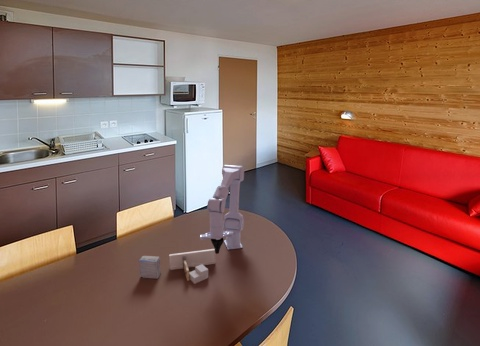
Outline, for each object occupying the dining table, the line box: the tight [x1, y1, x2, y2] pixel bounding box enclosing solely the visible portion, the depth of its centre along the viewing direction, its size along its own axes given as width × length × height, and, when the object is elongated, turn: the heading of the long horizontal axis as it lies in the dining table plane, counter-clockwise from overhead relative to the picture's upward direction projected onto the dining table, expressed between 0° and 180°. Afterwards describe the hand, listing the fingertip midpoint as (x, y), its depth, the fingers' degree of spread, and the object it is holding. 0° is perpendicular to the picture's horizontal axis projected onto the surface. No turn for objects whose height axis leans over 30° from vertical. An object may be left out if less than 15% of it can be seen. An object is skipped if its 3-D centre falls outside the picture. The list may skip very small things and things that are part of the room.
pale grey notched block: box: [189, 264, 209, 285], centre depth 134 cm, size 5×7×4 cm
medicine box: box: [138, 255, 162, 280], centre depth 135 cm, size 8×4×9 cm, turn 84°
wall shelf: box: [168, 248, 216, 271], centre depth 142 cm, size 3×21×7 cm, turn 105°
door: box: [183, 260, 190, 282], centre depth 136 cm, size 8×2×5 cm, turn 20°
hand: (216, 252), depth 136 cm, fingers closed
